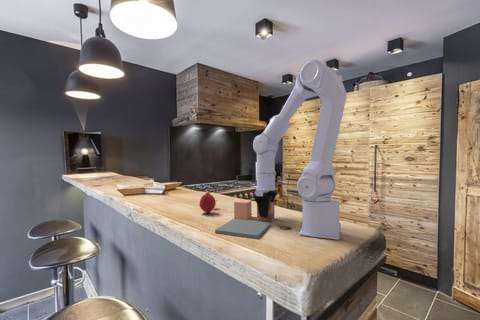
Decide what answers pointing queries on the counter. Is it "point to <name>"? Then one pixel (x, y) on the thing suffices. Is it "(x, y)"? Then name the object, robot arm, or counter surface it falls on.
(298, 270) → the counter surface
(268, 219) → the walnut block
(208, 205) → the onion
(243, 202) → the terracotta block
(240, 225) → the slate board
